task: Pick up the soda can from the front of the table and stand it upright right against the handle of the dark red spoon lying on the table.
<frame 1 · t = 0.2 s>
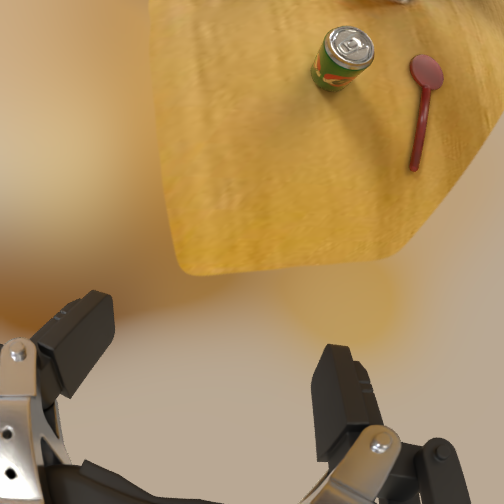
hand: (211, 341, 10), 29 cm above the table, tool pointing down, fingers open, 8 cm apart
spoon: (420, 120, 31), on the table
soda can: (329, 75, 30), on the table
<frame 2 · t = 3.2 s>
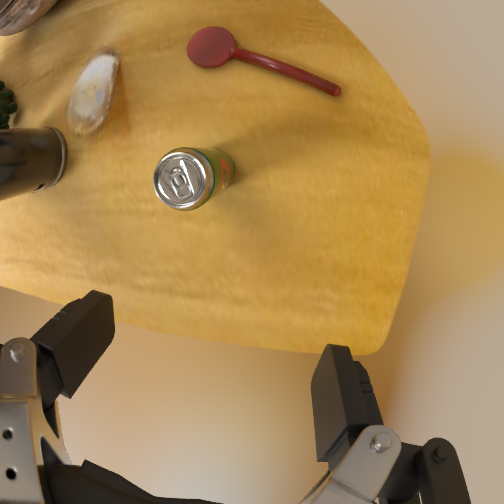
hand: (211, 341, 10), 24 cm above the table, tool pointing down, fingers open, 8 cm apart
spoon: (276, 67, 27), on the table
soda can: (213, 169, 32), on the table
toy figurine: (1, 100, 29), on the table
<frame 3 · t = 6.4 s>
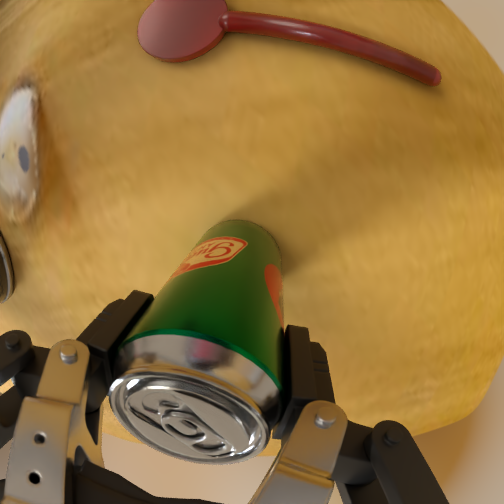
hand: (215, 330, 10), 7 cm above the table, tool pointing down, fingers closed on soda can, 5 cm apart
spoon: (318, 39, 12), on the table
soda can: (239, 257, 17), on the table, touching gripper
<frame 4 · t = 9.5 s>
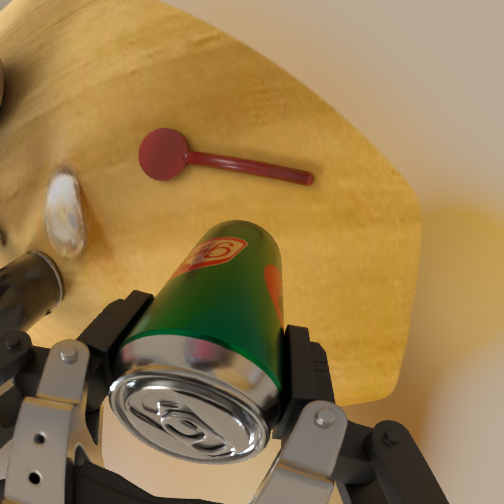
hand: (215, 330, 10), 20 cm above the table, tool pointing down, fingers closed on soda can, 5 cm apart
spoon: (238, 164, 28), on the table
soda can: (239, 257, 17), point 13 cm above the table, touching gripper
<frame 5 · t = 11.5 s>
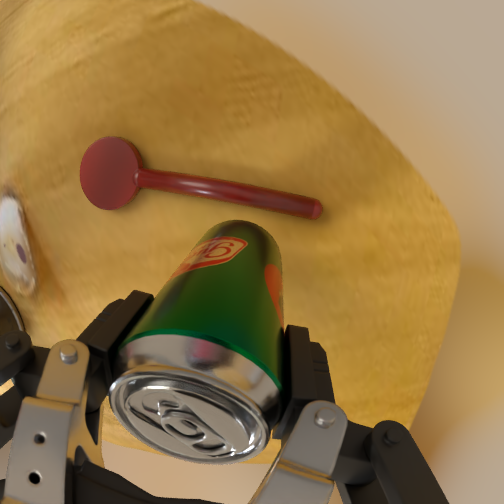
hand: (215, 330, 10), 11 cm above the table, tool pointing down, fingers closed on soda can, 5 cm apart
spoon: (210, 186, 19), on the table
soda can: (239, 257, 17), point 3 cm above the table, touching gripper
when the fingers open (7 cm above the table, at t = 12.9 s): soda can stays where it is, on the table.
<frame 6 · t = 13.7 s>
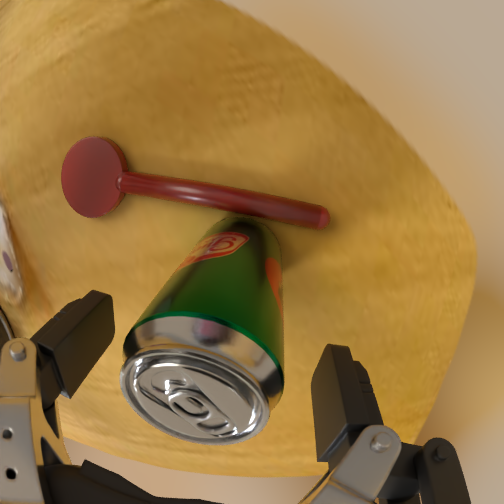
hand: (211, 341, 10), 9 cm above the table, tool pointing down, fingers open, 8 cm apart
spoon: (202, 191, 17), on the table
soda can: (241, 252, 18), on the table
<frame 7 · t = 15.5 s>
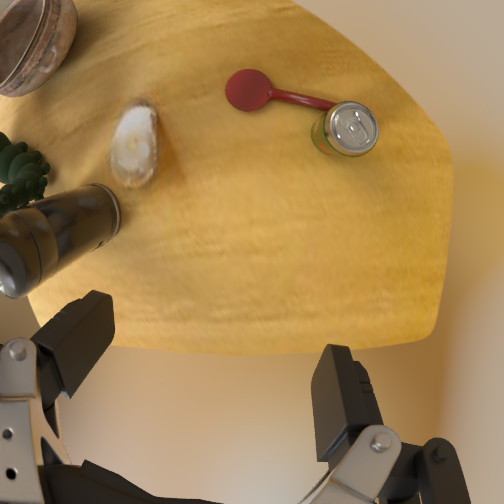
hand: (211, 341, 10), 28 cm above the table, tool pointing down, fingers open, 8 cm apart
spoon: (312, 103, 31), on the table
soda can: (330, 135, 32), on the table
toy figurine: (26, 161, 37), on the table
cooking pot: (55, 49, 29), on the table
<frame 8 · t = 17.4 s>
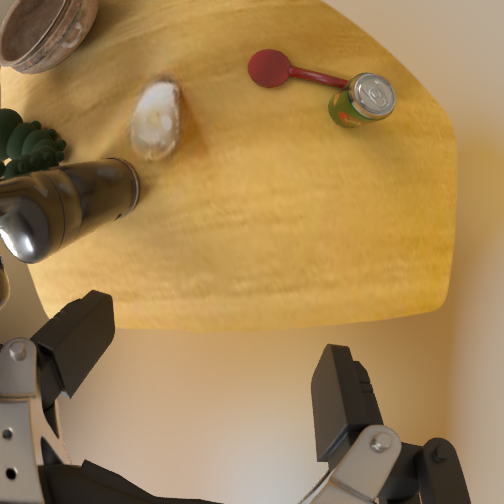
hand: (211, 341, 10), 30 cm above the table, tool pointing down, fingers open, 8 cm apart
spoon: (328, 81, 31), on the table
soda can: (345, 110, 33), on the table
toy figurine: (39, 140, 37), on the table
cooking pot: (72, 31, 29), on the table
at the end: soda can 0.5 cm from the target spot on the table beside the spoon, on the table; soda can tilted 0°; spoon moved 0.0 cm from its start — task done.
